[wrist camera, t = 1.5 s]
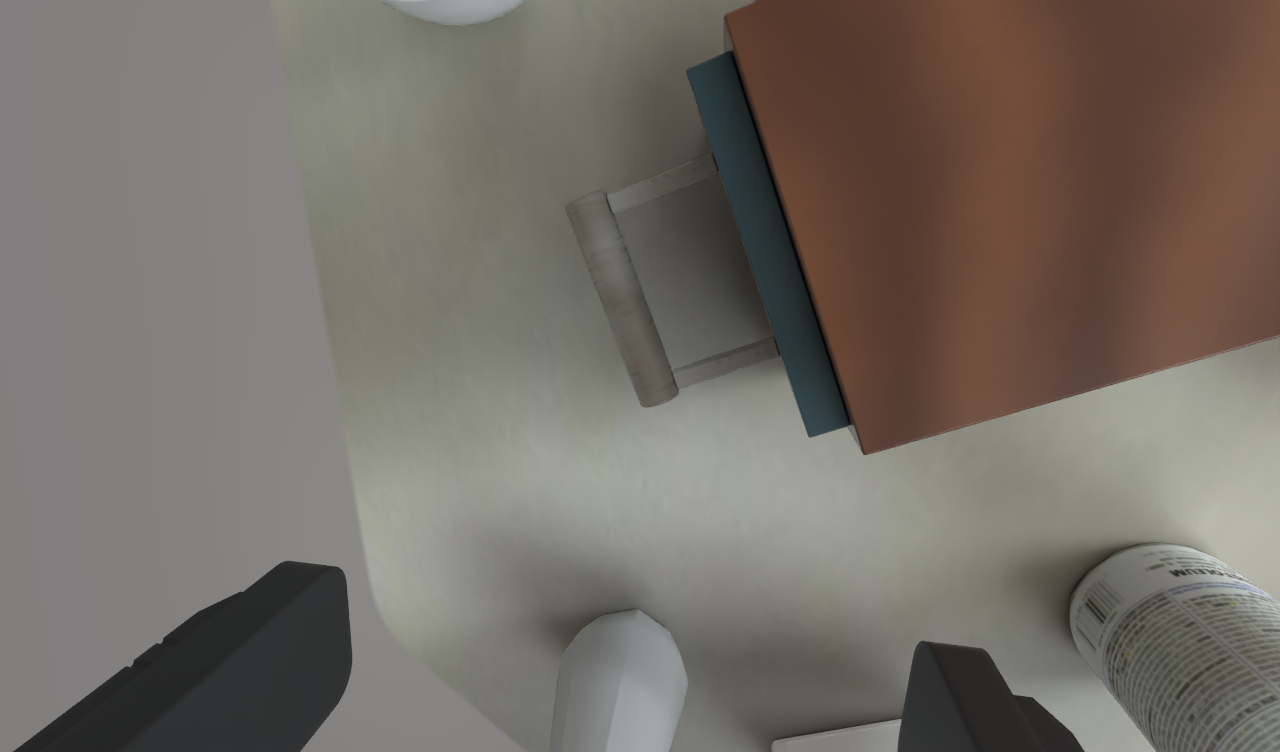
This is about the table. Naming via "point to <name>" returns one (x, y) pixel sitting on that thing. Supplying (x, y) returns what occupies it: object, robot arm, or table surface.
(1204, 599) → the spray can
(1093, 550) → the table surface
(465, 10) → the cup
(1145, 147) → the cabinet
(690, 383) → the drawer
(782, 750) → the perfume bottle
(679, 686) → the salt shaker
